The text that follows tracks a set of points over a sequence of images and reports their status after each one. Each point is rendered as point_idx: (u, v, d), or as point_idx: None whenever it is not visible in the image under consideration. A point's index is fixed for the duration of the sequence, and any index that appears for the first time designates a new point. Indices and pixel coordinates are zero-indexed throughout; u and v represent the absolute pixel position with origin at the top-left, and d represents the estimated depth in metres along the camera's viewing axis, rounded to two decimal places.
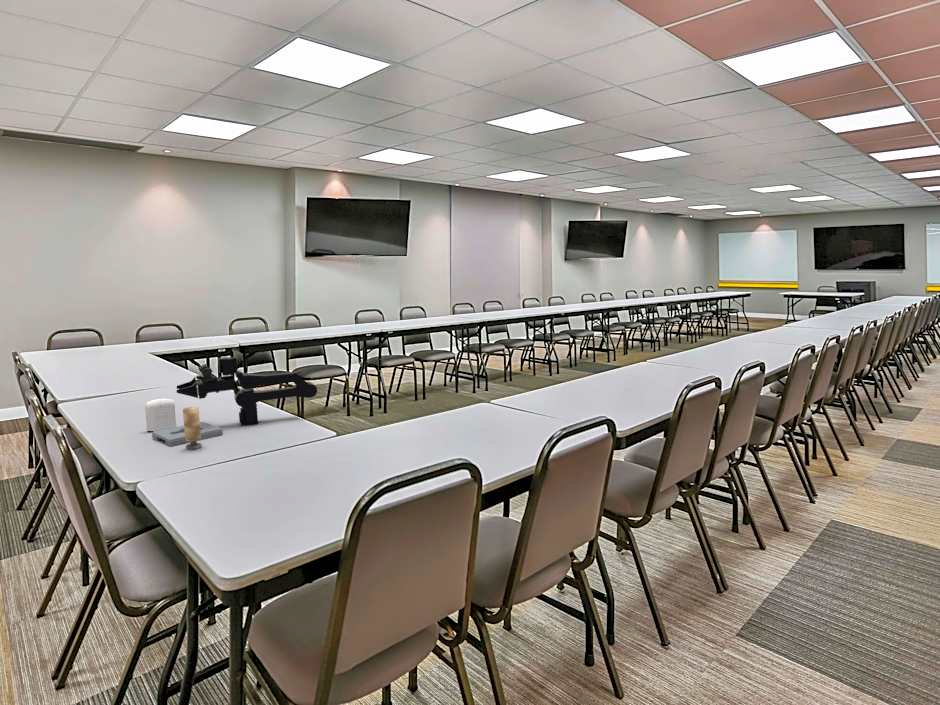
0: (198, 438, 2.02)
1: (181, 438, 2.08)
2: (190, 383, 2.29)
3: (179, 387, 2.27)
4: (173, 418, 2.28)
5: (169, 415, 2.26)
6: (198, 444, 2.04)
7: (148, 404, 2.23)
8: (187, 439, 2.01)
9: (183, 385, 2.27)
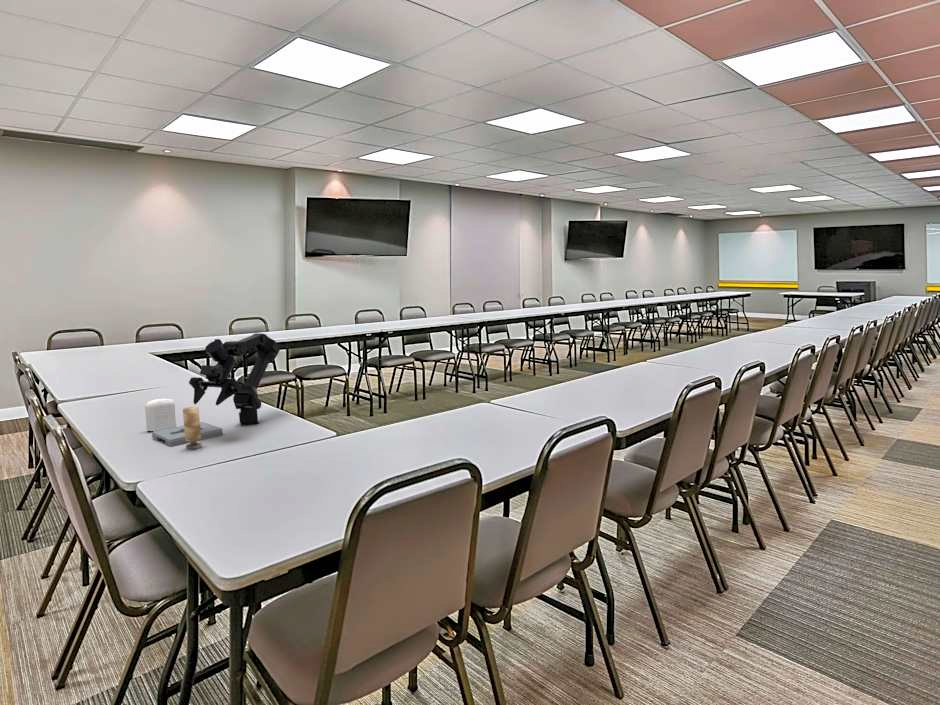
0: (198, 438, 2.02)
1: (181, 438, 2.08)
2: (198, 391, 2.13)
3: (196, 401, 2.11)
4: (173, 418, 2.28)
5: (169, 415, 2.26)
6: (198, 444, 2.04)
7: (148, 404, 2.23)
8: (187, 439, 2.01)
9: (197, 397, 2.11)
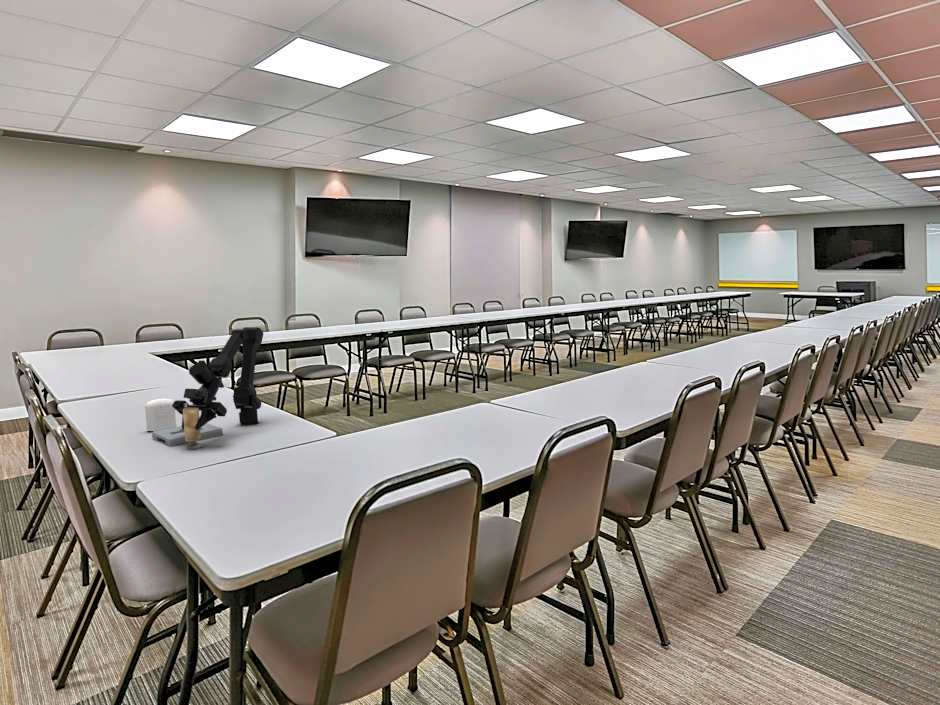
0: (198, 438, 2.02)
1: (181, 438, 2.08)
2: None
3: None
4: (173, 418, 2.28)
5: (169, 415, 2.26)
6: (198, 444, 2.04)
7: (148, 404, 2.23)
8: (187, 439, 2.00)
9: None
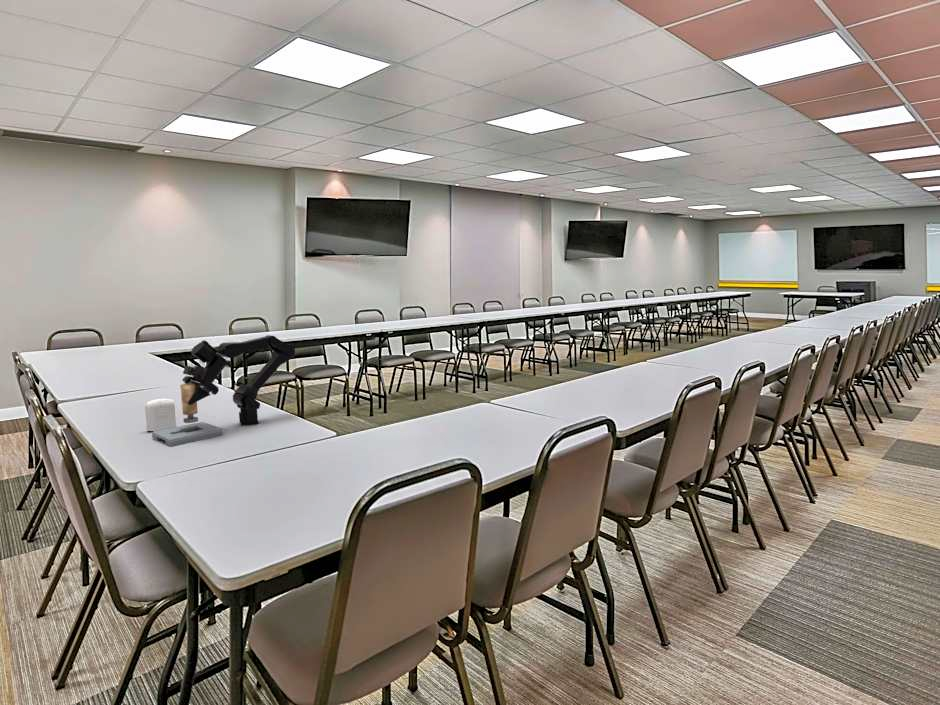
0: (192, 413, 2.15)
1: (181, 438, 2.08)
2: None
3: None
4: (173, 418, 2.28)
5: (169, 415, 2.26)
6: (194, 418, 2.17)
7: (148, 404, 2.23)
8: (183, 412, 2.15)
9: None
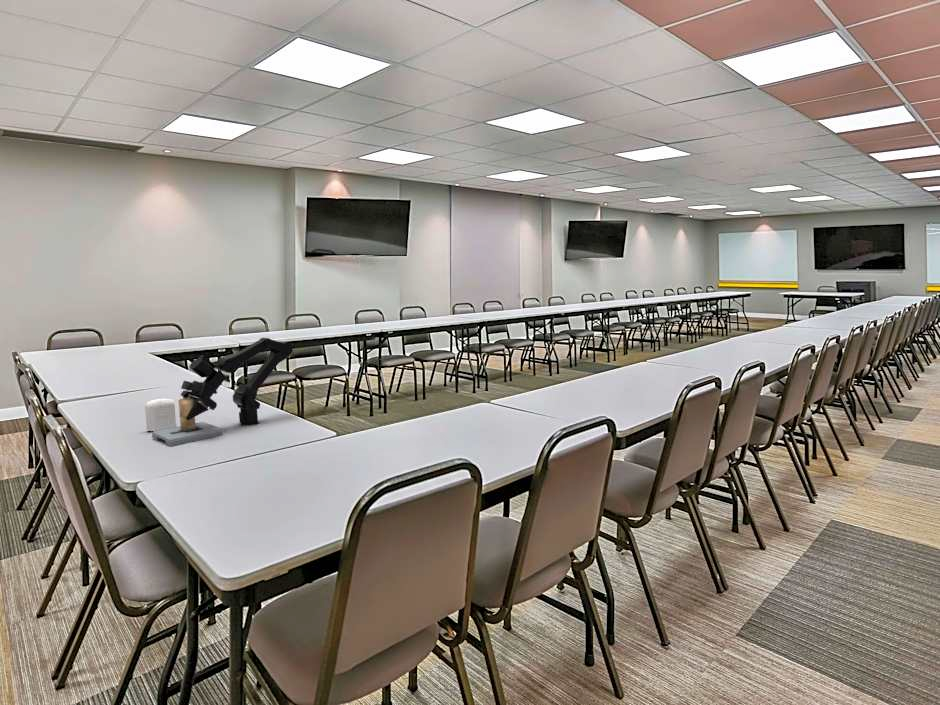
0: (190, 428, 2.15)
1: (181, 438, 2.08)
2: None
3: None
4: (173, 418, 2.28)
5: (169, 415, 2.26)
6: None
7: (148, 404, 2.23)
8: (181, 427, 2.15)
9: None
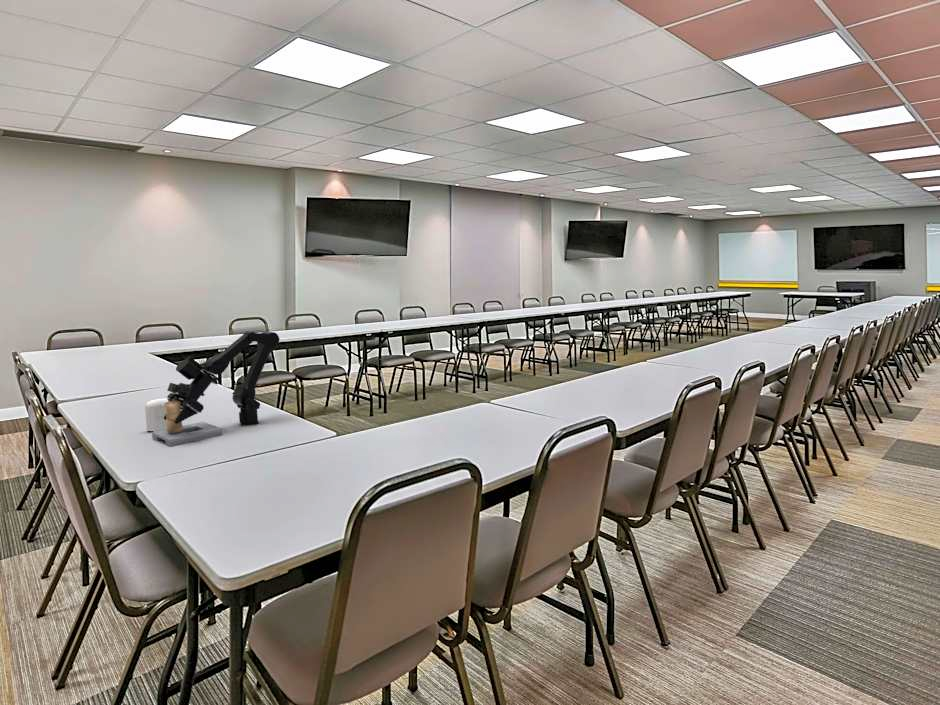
0: (176, 431, 2.12)
1: (181, 438, 2.08)
2: None
3: None
4: None
5: None
6: None
7: (148, 404, 2.23)
8: (167, 431, 2.12)
9: None
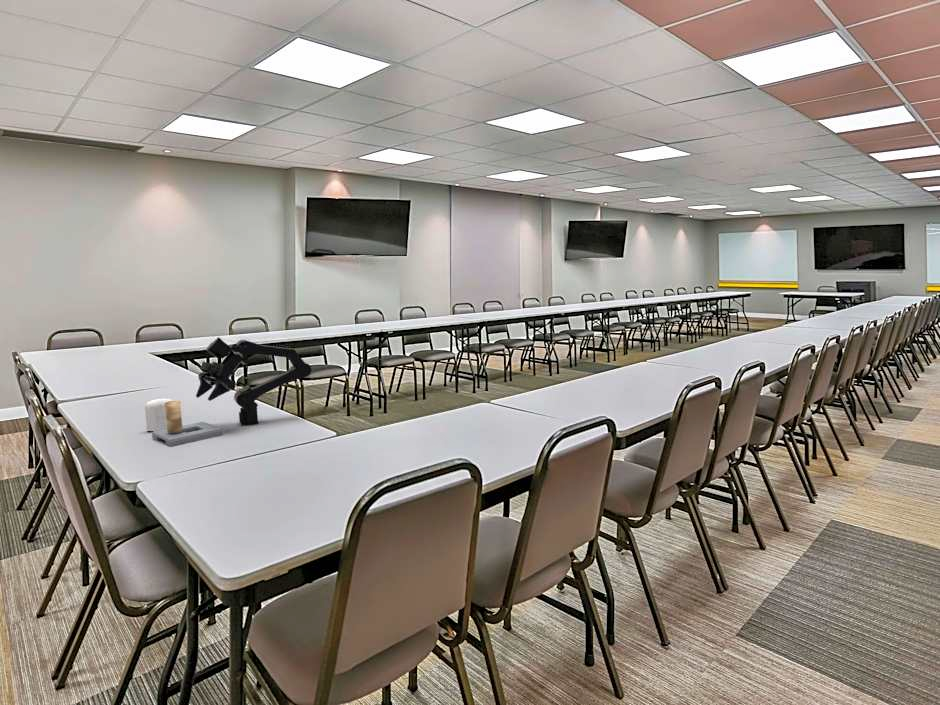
0: (176, 431, 2.12)
1: (181, 438, 2.08)
2: (203, 385, 2.26)
3: (199, 395, 2.25)
4: None
5: None
6: None
7: (148, 404, 2.23)
8: (167, 431, 2.12)
9: (200, 391, 2.25)
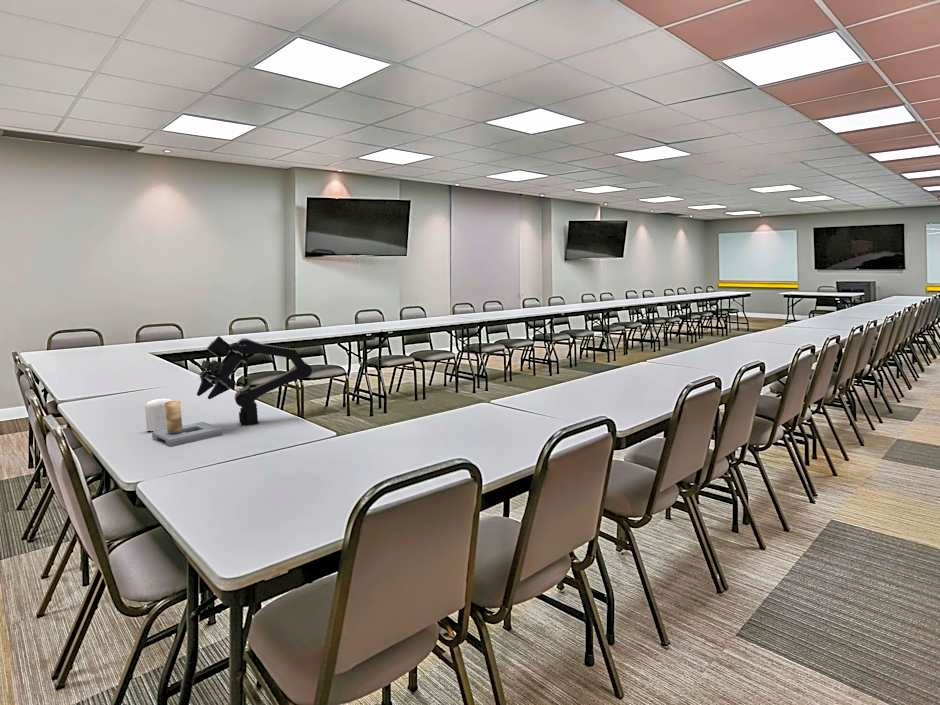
0: (176, 431, 2.12)
1: (181, 438, 2.08)
2: (204, 383, 2.27)
3: (199, 393, 2.26)
4: None
5: None
6: None
7: (148, 404, 2.23)
8: (167, 431, 2.12)
9: (201, 389, 2.26)
